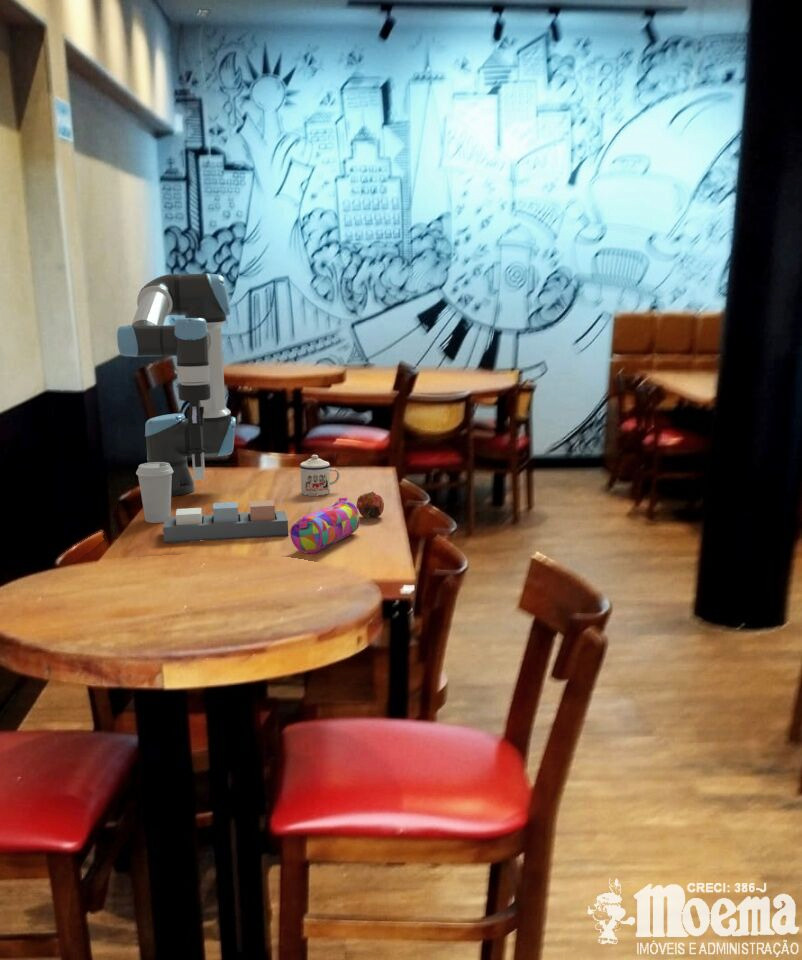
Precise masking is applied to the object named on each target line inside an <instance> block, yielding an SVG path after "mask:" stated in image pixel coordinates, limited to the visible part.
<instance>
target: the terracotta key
mask: <svg viewBox="0 0 802 960" xmlns="http://www.w3.org/2000/svg"><path fill="white" fill-rule="evenodd" d="M275 509H276V507H275V501H274V499H269V500H268V499H267V500H266V499H265V500H250V501H249V513H250V521H261V520H275V511H276V510H275Z"/></svg>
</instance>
